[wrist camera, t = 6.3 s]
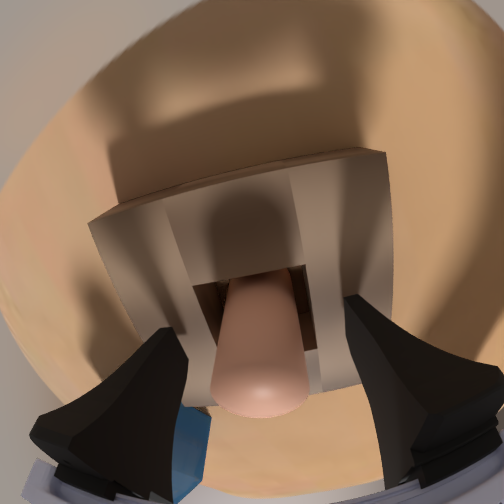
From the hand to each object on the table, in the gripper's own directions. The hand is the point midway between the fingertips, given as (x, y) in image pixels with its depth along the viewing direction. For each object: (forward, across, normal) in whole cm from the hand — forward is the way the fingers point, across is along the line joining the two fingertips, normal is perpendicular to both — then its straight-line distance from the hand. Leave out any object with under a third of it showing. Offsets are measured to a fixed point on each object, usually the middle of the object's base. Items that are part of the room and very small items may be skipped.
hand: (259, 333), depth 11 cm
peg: (+4, 0, 0) cm, 4 cm away
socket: (+4, 0, 0) cm, 4 cm away
